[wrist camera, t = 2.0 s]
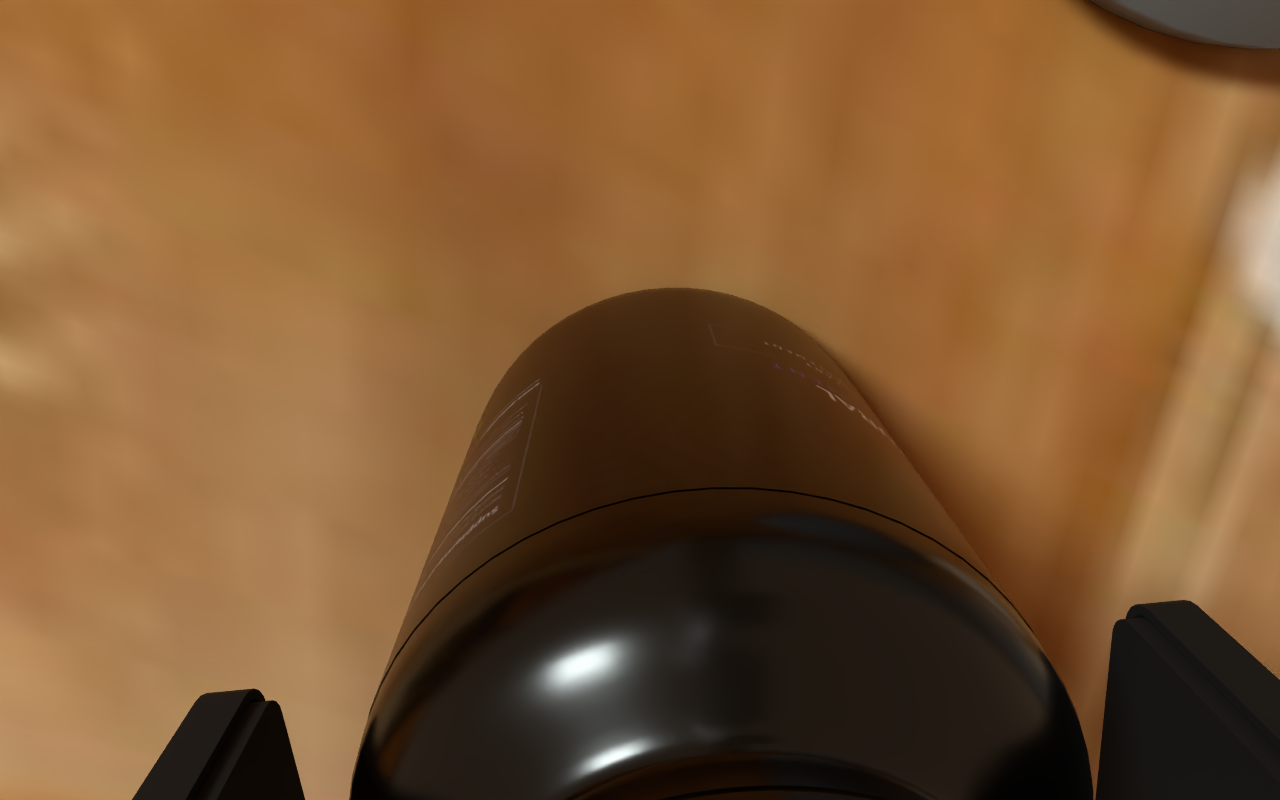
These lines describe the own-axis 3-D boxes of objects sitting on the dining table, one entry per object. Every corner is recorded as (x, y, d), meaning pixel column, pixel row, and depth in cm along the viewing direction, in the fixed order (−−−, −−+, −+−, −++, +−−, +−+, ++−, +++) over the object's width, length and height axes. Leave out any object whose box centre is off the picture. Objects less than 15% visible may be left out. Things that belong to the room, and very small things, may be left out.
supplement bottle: (924, 341, 16) (1747, 1102, 4) (781, 665, 18) (1080, 1715, 7) (527, 219, 15) (279, 795, 3) (429, 579, 17) (85, 1634, 6)
